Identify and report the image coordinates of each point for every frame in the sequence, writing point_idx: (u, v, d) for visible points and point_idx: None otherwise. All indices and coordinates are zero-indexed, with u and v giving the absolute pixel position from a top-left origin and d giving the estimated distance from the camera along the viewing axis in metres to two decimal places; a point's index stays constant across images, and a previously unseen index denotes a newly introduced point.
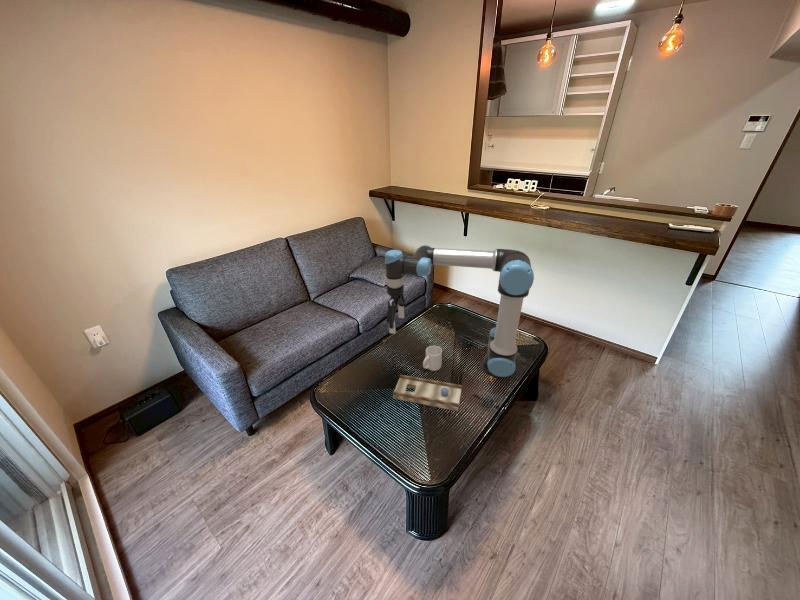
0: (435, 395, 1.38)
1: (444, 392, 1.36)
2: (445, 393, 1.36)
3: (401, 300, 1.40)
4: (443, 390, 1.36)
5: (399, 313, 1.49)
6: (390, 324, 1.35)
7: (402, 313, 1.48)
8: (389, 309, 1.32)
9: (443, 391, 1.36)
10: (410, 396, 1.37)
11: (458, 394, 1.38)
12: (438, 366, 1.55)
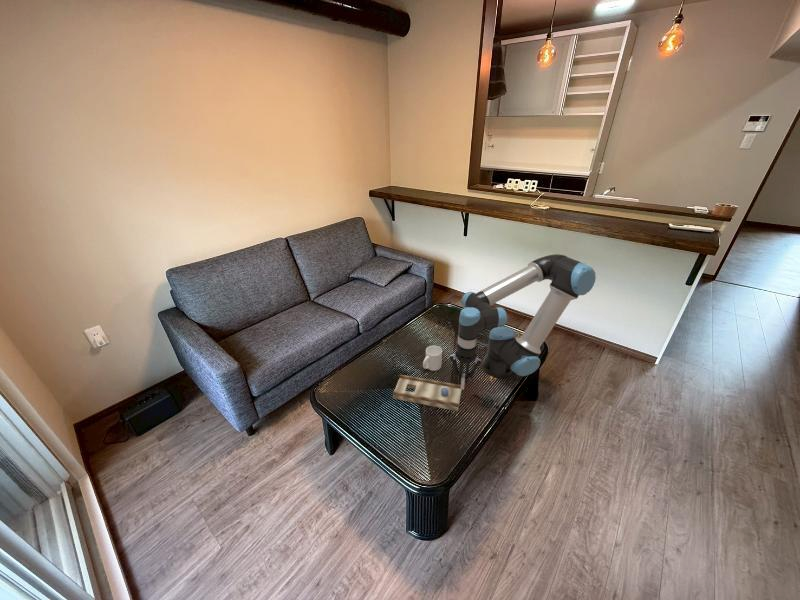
0: (435, 395, 1.38)
1: (444, 392, 1.36)
2: (445, 393, 1.36)
3: (466, 365, 1.25)
4: (443, 390, 1.36)
5: None
6: (459, 376, 1.31)
7: None
8: None
9: (443, 391, 1.36)
10: (410, 396, 1.37)
11: (458, 394, 1.38)
12: (438, 366, 1.55)
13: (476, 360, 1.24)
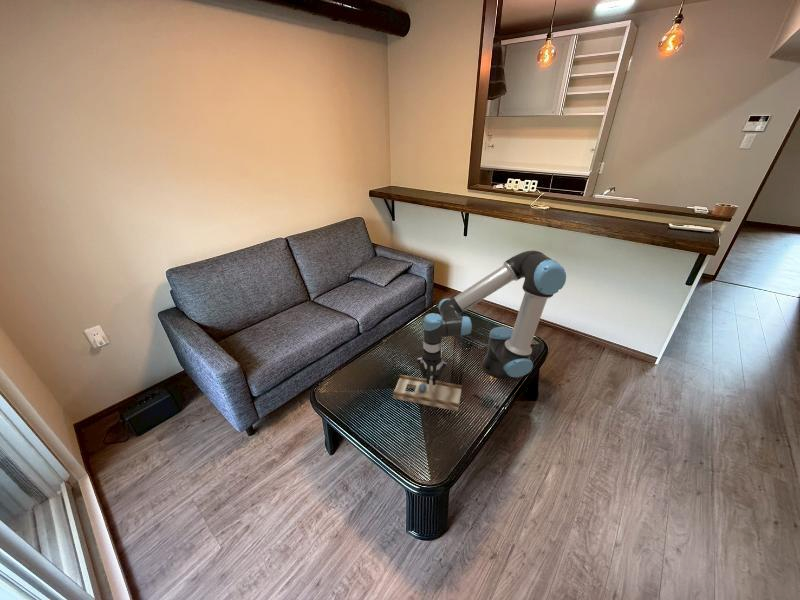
0: (435, 395, 1.38)
1: (423, 389, 1.38)
2: (423, 390, 1.38)
3: None
4: (422, 386, 1.39)
5: None
6: (427, 378, 1.37)
7: None
8: None
9: (422, 387, 1.38)
10: (410, 396, 1.37)
11: (458, 394, 1.38)
12: (438, 366, 1.55)
13: (442, 363, 1.30)
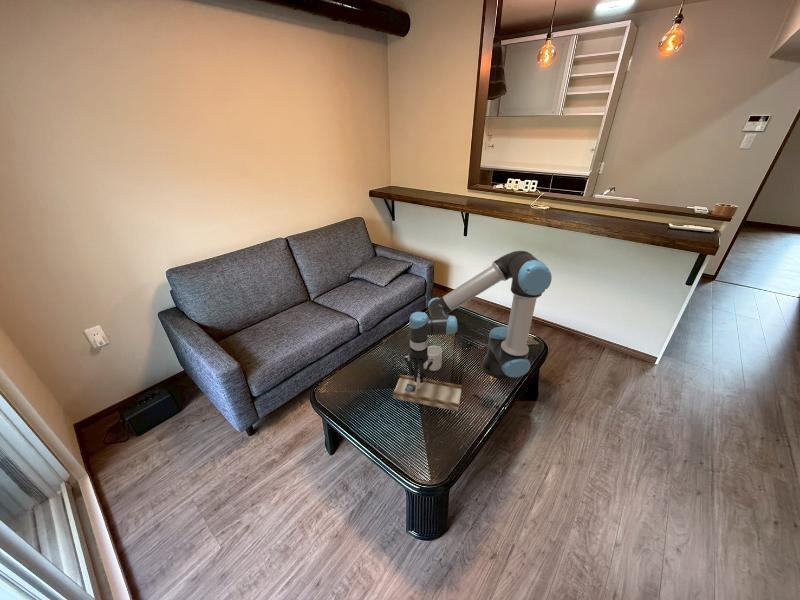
0: (435, 395, 1.38)
1: None
2: None
3: (419, 366, 1.32)
4: (411, 391, 1.42)
5: None
6: None
7: None
8: None
9: (411, 391, 1.41)
10: (410, 396, 1.37)
11: (458, 394, 1.38)
12: (438, 366, 1.55)
13: (428, 361, 1.31)
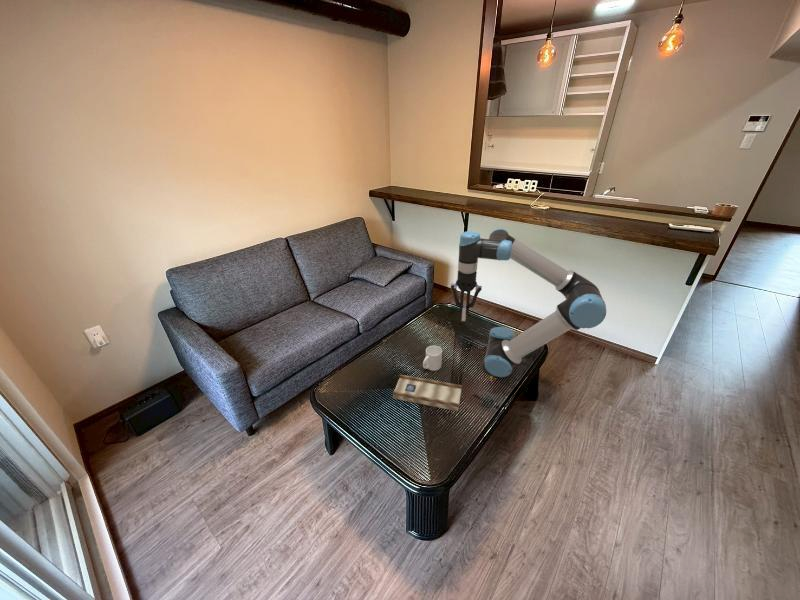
0: (435, 395, 1.38)
1: None
2: None
3: (467, 293, 1.26)
4: (412, 391, 1.42)
5: None
6: (460, 307, 1.32)
7: None
8: None
9: None
10: (410, 396, 1.37)
11: (458, 394, 1.38)
12: (438, 366, 1.55)
13: (477, 287, 1.25)
